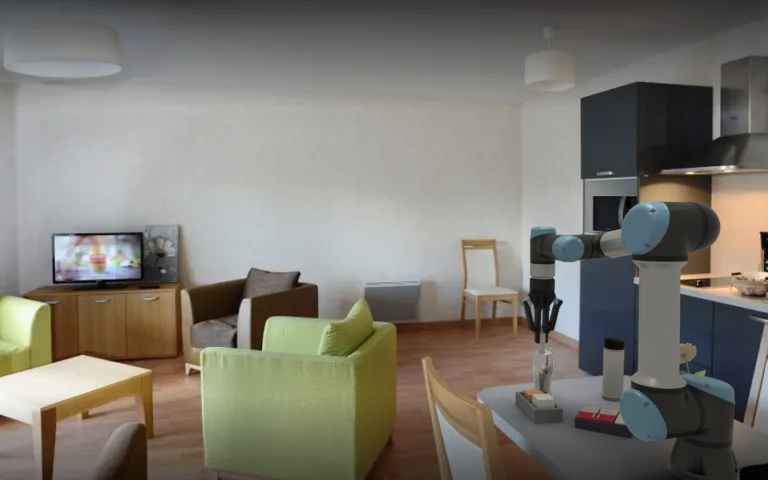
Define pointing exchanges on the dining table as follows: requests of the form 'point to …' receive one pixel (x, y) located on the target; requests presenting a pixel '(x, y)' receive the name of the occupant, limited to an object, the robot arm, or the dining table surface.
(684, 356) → the flower in vase
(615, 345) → the travel mug
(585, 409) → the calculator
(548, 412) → the key housing
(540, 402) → the cream key
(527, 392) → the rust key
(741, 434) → the dining table surface
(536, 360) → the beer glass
